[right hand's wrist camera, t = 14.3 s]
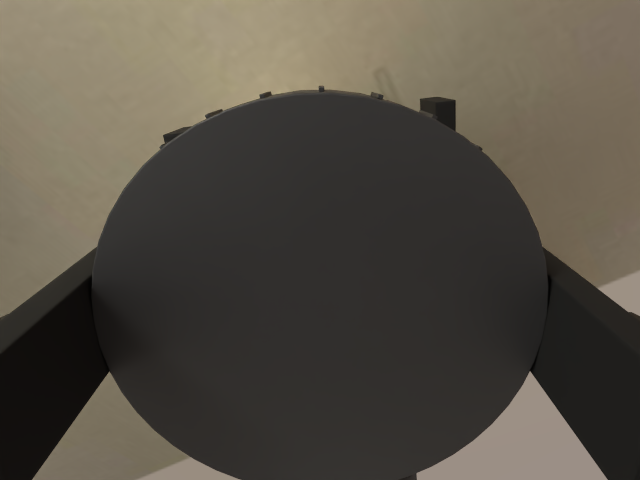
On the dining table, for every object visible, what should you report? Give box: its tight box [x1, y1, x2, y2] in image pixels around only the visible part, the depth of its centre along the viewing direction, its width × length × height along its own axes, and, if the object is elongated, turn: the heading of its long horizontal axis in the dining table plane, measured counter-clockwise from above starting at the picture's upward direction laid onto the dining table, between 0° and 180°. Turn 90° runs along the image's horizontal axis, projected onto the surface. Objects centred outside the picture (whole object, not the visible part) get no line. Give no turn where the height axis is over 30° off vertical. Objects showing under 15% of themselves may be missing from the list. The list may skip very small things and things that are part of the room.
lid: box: [91, 86, 549, 480], centre depth 11 cm, size 11×11×2 cm
